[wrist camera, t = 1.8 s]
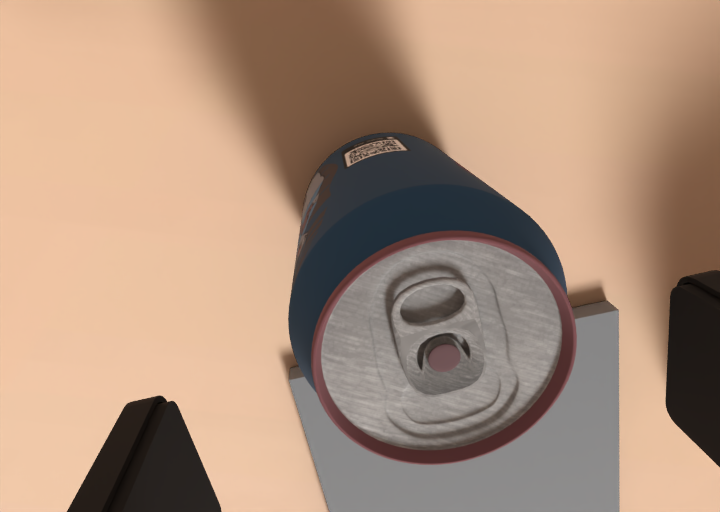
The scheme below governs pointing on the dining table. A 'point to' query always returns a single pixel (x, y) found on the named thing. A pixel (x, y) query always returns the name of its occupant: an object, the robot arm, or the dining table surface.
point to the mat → (504, 466)
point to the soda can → (425, 305)
